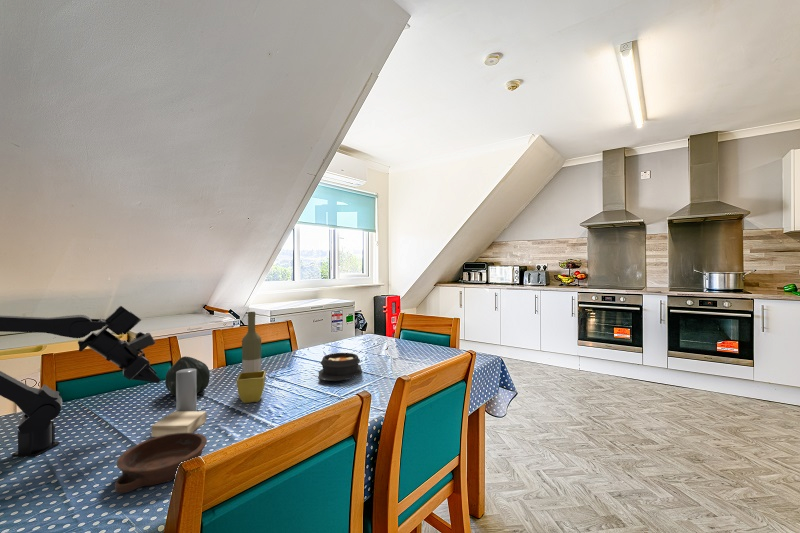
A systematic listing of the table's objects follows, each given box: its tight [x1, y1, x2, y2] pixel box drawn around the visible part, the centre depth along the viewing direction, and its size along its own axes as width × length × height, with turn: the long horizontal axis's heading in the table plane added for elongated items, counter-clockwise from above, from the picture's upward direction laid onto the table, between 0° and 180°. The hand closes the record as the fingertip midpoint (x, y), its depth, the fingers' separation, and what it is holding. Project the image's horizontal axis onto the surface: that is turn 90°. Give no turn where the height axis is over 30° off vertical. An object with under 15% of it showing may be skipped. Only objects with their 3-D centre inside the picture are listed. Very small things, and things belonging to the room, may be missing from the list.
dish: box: [114, 432, 208, 494], centre depth 85 cm, size 17×22×5 cm
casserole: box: [317, 352, 363, 382], centre depth 156 cm, size 25×19×8 cm
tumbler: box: [175, 368, 198, 411], centre depth 116 cm, size 6×6×14 cm
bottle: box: [241, 311, 262, 373], centre depth 138 cm, size 7×7×30 cm
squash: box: [164, 355, 211, 397], centre depth 135 cm, size 14×15×15 cm
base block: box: [150, 410, 207, 438], centre depth 106 cm, size 10×10×3 cm
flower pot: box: [236, 370, 266, 404], centre depth 128 cm, size 9×9×9 cm
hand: (157, 377), depth 111 cm, fingers open, 9 cm apart
